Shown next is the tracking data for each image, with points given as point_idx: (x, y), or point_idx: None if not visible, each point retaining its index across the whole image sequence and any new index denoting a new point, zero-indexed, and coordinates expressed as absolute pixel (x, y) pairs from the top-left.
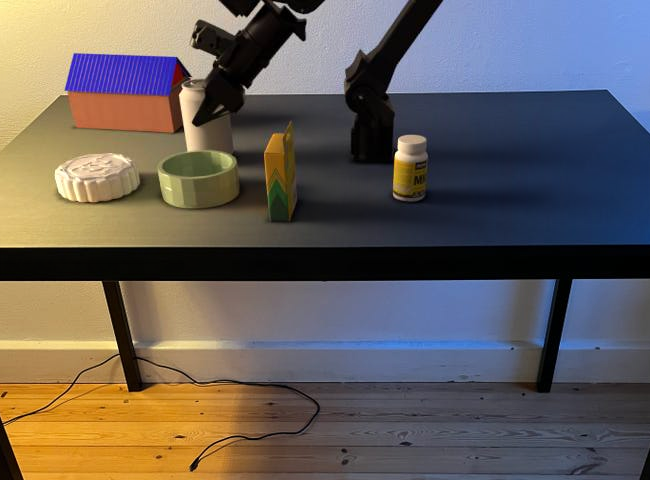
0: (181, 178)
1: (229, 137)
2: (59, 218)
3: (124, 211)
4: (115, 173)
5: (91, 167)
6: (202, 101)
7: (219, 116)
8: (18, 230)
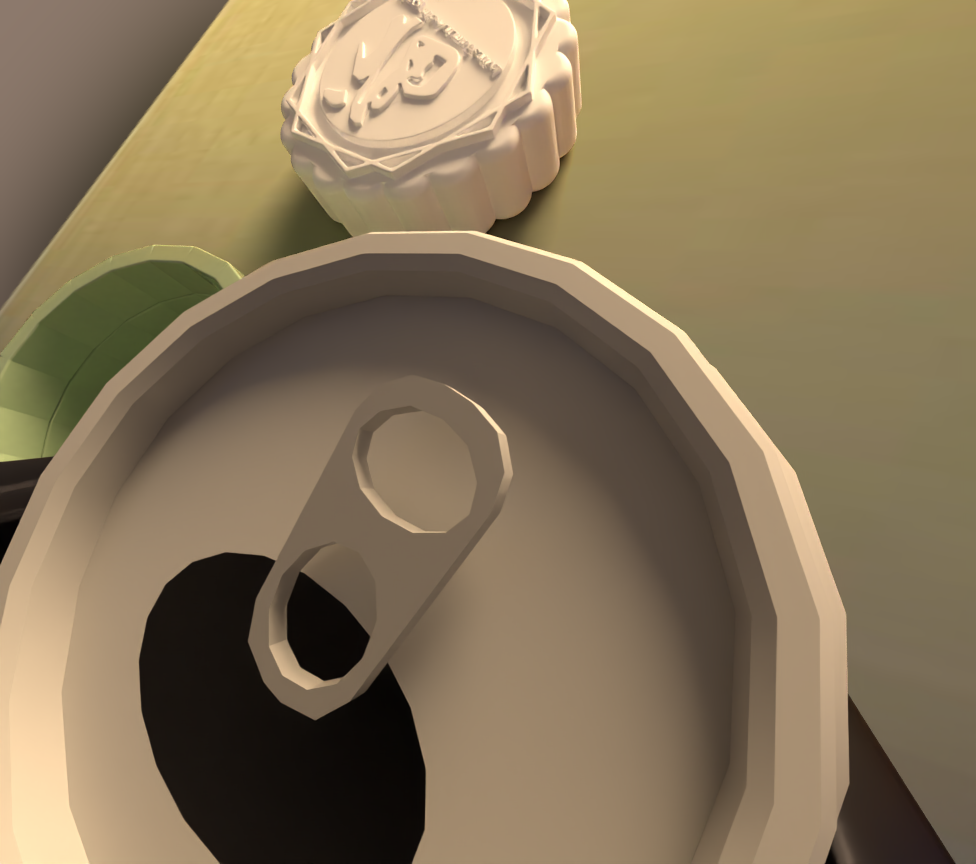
0: (30, 316)
1: (409, 725)
2: (292, 69)
3: (235, 208)
4: (293, 127)
5: (385, 47)
6: (24, 459)
7: None
8: (283, 5)
